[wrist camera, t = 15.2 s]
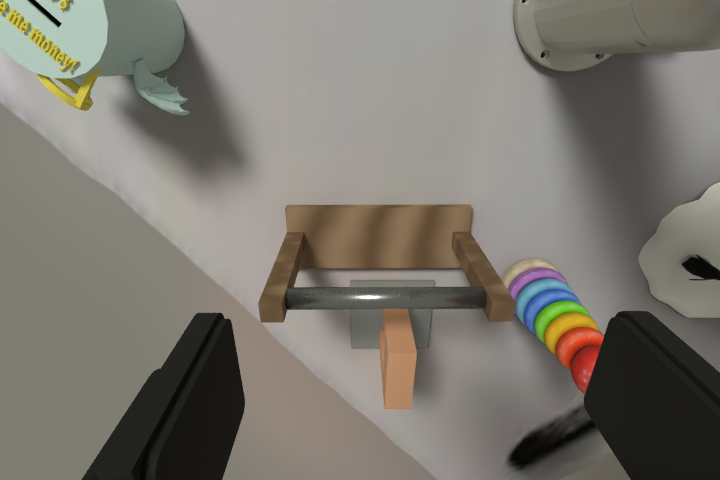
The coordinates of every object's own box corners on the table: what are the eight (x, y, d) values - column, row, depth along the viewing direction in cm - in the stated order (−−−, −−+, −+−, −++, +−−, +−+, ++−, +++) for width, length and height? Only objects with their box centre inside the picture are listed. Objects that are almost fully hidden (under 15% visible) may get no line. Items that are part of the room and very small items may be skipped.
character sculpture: (9, -3, 37) (-160, -32, 25) (68, -109, 34) (-93, -202, 22) (182, 148, 43) (113, 182, 31) (247, 71, 40) (198, 75, 28)
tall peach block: (404, 291, 51) (417, 353, 40) (400, 339, 54) (410, 409, 44) (381, 290, 51) (388, 353, 40) (379, 339, 54) (384, 408, 44)
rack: (469, 204, 46) (521, 271, 32) (462, 263, 50) (506, 348, 35) (286, 205, 46) (254, 272, 32) (291, 263, 50) (264, 349, 35)
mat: (433, 280, 51) (434, 281, 51) (427, 346, 56) (428, 347, 55) (350, 280, 51) (350, 282, 50) (351, 346, 55) (351, 348, 55)
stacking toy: (509, 316, 53) (580, 435, 36) (488, 272, 50) (555, 380, 33) (565, 293, 52) (666, 406, 35) (547, 246, 49) (649, 345, 32)
